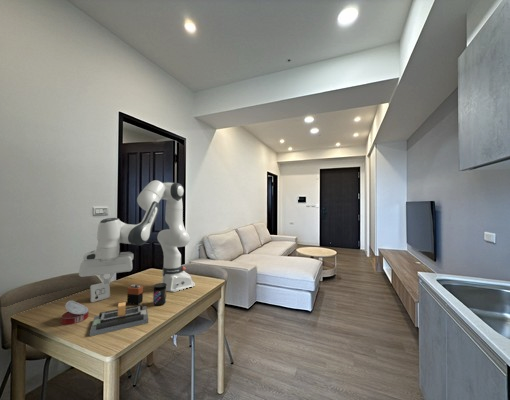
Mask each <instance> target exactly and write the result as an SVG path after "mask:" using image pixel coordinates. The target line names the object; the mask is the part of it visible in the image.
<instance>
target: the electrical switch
mask: <svg viewBox="0 0 510 400" xmlns="http://www.w3.org/2000/svg"><path fill="white" fill-rule="evenodd" d="M89 289H90V290H89V291H90V300H89V301H90V303H96V302H99V301H102V300H106V299H109V298H111V289H110V283H107V284H103V282H100V283H96V284H91V285H90V286H89Z"/></svg>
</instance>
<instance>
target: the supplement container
mask: <svg viewBox="0 0 510 400" xmlns="http://www.w3.org/2000/svg"><path fill="white" fill-rule="evenodd" d="M166 285H167V284H166V283H162V282H159V283H155V284H153V293H152V294H153V296H152V297H153V299H152V304H153V306H155V307H159V306H163V305H165V304H166V302H167V291H166Z"/></svg>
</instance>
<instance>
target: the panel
mask: <svg viewBox="0 0 510 400" xmlns="http://www.w3.org/2000/svg"><path fill="white" fill-rule="evenodd" d="M148 314H149V313H148V309H147V306H146V305H145V306H143V304H138V305H132V306H128V307H127V306H126V309H125V315H121V316H118V308H117V309H112V310H108V311H102V312H99V314H98V315H94V317H93V321H92V324H91V327H90V330H89V337H93V336H98V335H102V334H106V333H111V332H115V331H119V330H124V329H128V328H131V327H132V328H133V327H136V326H141V325H145V324H148V323H149V315H148Z"/></svg>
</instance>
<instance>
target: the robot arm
mask: <svg viewBox="0 0 510 400" xmlns="http://www.w3.org/2000/svg"><path fill="white" fill-rule="evenodd" d="M184 193H185V188H184V186H183V185H182V184H181V183H178V182H162V181H160V180H157V179H156V180H152V181H150V182H149V183H148V184H146V185H145V186H144V188H143V189H142V191H140V193H139V194H138V196H137V198H136V202H137V204H138V206H139V207H140V209H142V210H144V211H145V214H144V215H143V217H142V220H141V222H139V223H137V224H133V223H132V224H130V223H126V222H123V221H121V220H120V218H118V217H108V218H104V219H101V220H100V222H99V224H98V227H97V234H96V235H97V236H96V238H97V245H96V249H95V250H92V251H89V252H86V253H84V255H83V260H82V262H81V263H80V265H79V269H78V276H79V277H80V278H85V277H93V276H99V278H100V279H101V280H102V283H103V284H107V283H109V284H111V282H112V281H111V280H112V279H113V277H114V274H115V273H116V274H119V273H127V272H131V271H132V270H133V260H134V255H135V254H134V253H133V252H131V251H120V244H124V245H125V244H126V245H127V244H128V245H134V246H144V244H145V243H147V242H148V241H149V240H150V237H151V234H152V233H151V232H152V229H153V226H154V224H155V221H156V219H157V217H158V214H159V212H160V204H159V203H160V201H161V200H165V201H166V204H165V214H164V215H165V218H164V219H165V223H166V224H167V225H168V228H169V229H168V228H166V229H162V230H160V231H159V232H158V234H157V237H156V238H157V242H158V243H159V244H160V246H161V249H162V252H163V253H162V255H163V267H162V278H161V283H166V284H167V285H166V292H170V293H175V292H180V291H184V290H187V289H186V288H188V289H190V288H189V287H192V288H194V287H193V286H196V283H195V281H193V280H192V276H191V275H190V274H189V273H188V272H186V267H185V266H184V265H182V254H181V252H180V251H179V249H178V248H183V247H187V245H189V243H190V240H191V238H190V234H189V233H188V232H187V230H186V228H185V225H184V221H183V220H184V217H183V216H184V215H183V214H184V213H183V212H184V210H183V209H184V208H183V207H184V206H183V205H184V204H183V196H184ZM105 275H109V278H105V277H104V276H105ZM183 289H184V290H183ZM179 290H180V291H179Z"/></svg>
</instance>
